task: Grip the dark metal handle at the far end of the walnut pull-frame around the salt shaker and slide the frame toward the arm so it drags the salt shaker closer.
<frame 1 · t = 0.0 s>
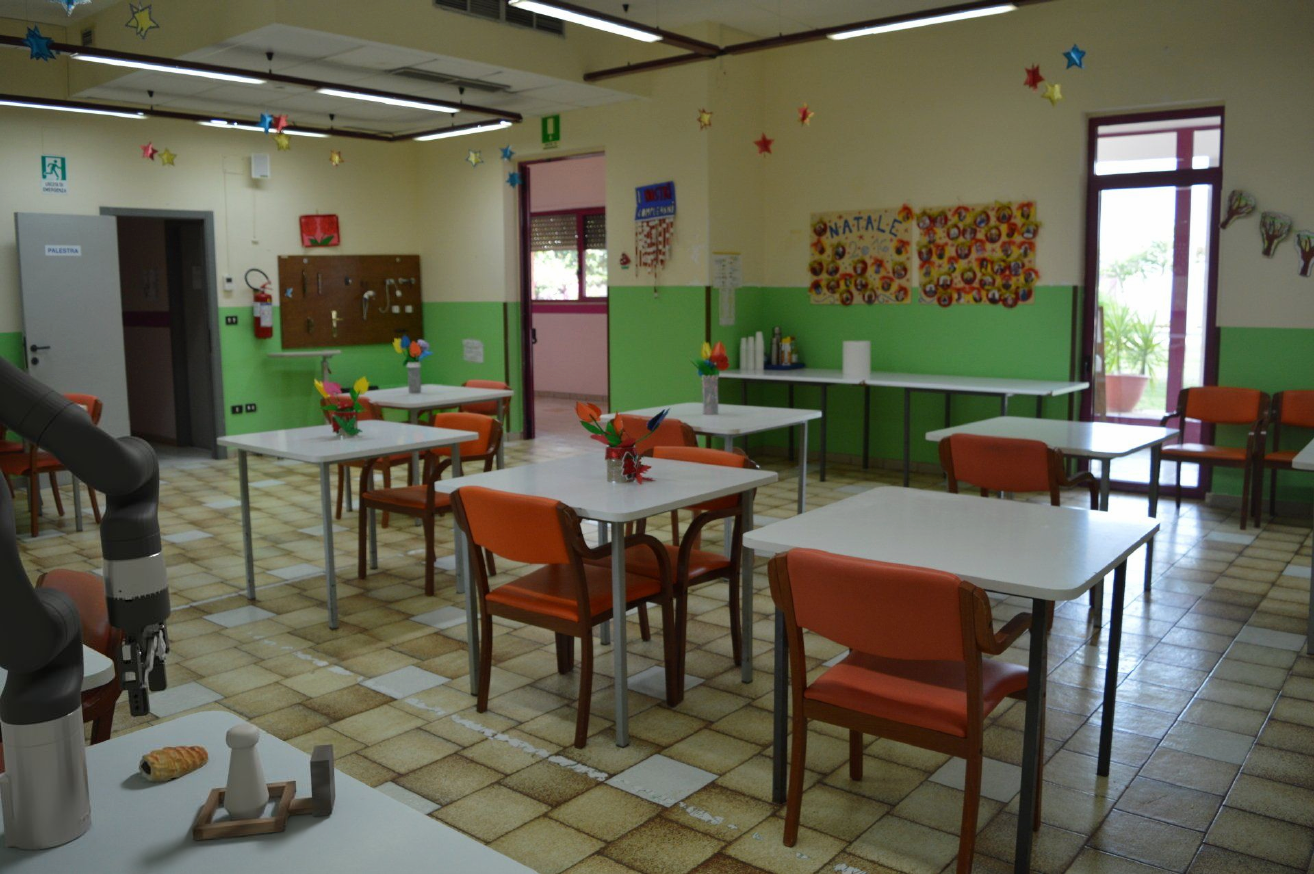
hand: (149, 702, 136), 17 cm above the table, tool pointing down, fingers open, 8 cm apart
salt shaker: (247, 817, 139), on the table
pastry: (171, 773, 153), on the table
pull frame: (267, 784, 139), point 4 cm above the table, slide at 0.0 cm
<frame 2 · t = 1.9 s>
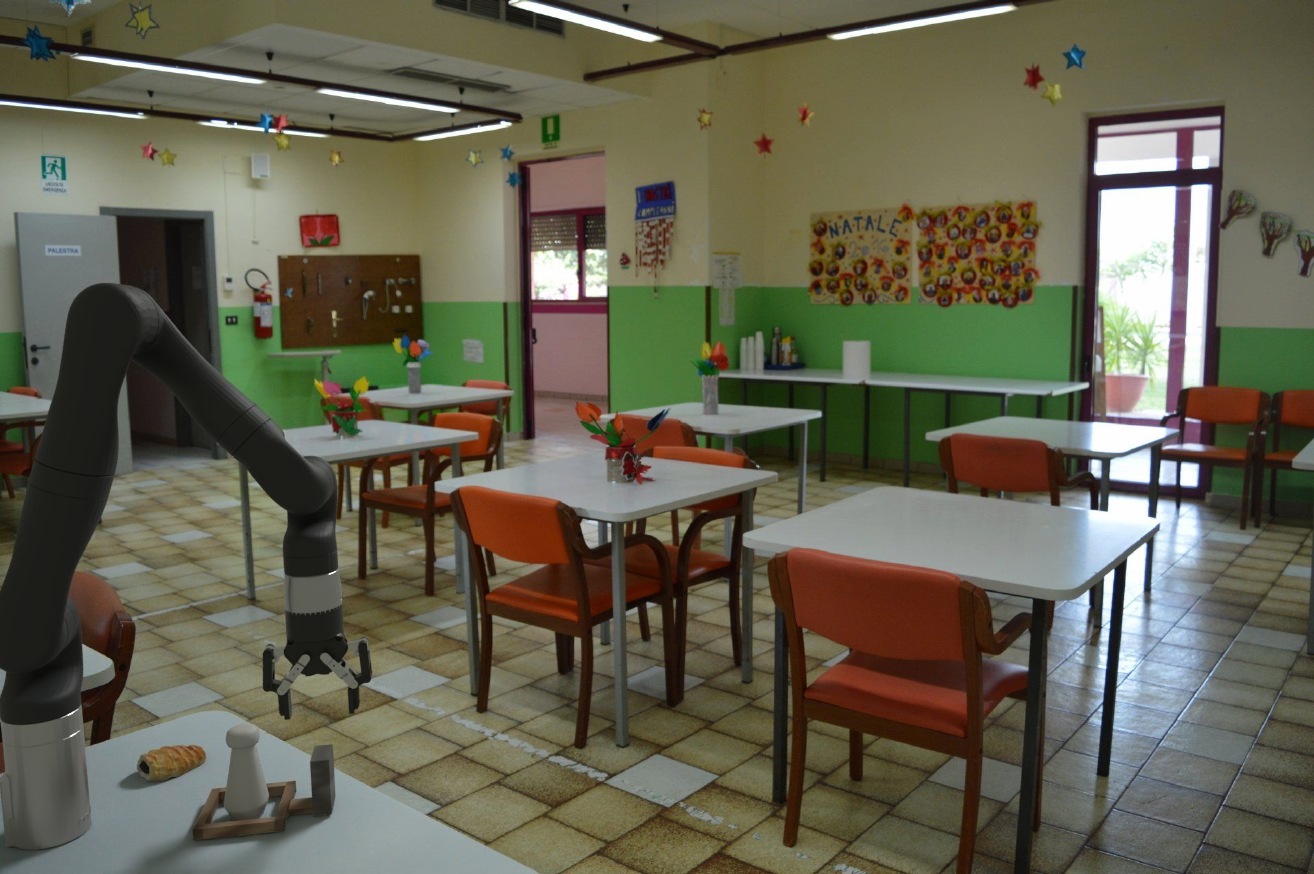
hand: (320, 714, 140), 14 cm above the table, tool pointing down, fingers open, 8 cm apart
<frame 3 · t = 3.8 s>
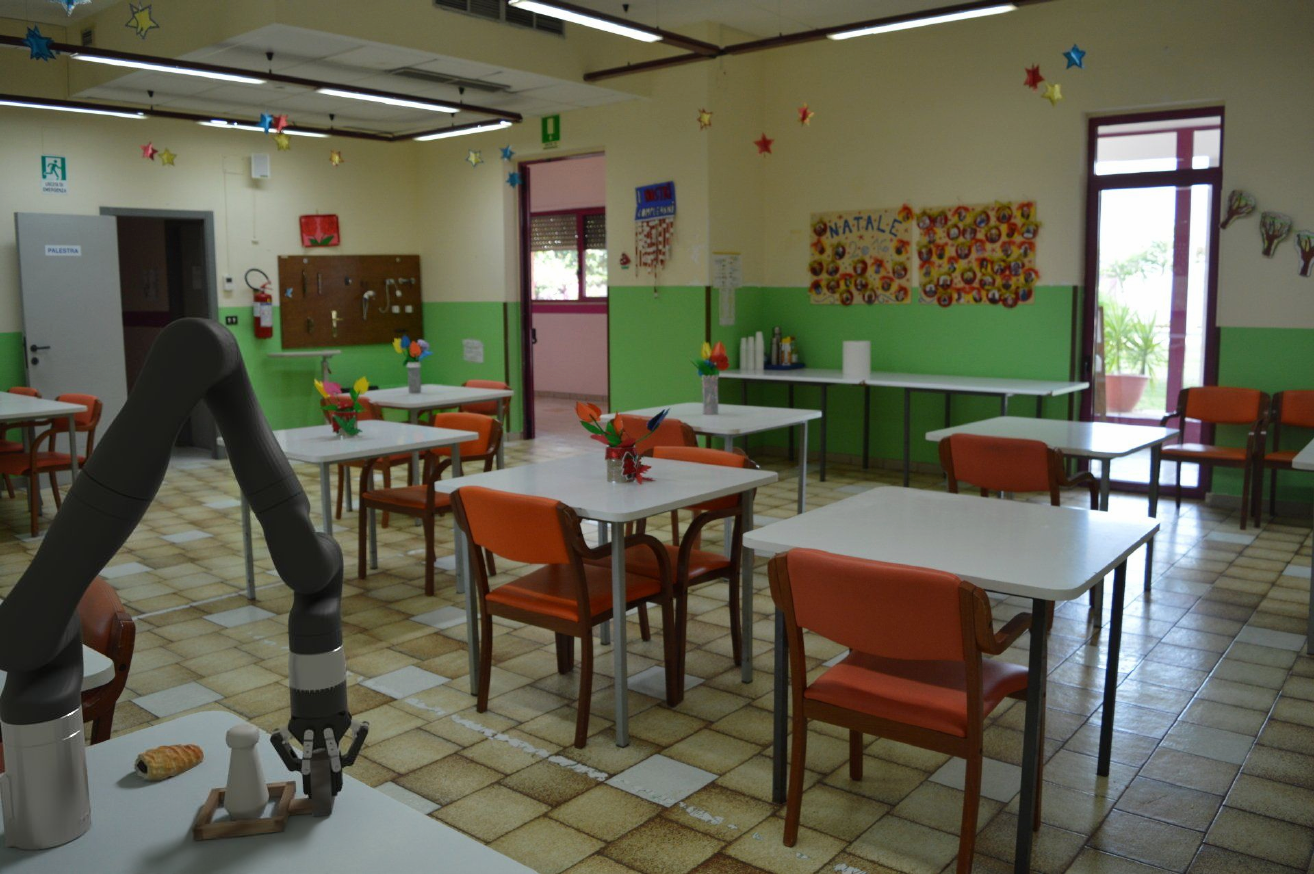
hand: (323, 794, 141), 2 cm above the table, tool pointing down, fingers closed on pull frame, 2 cm apart
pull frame: (267, 784, 139), point 4 cm above the table, slide at 0.0 cm, touching gripper
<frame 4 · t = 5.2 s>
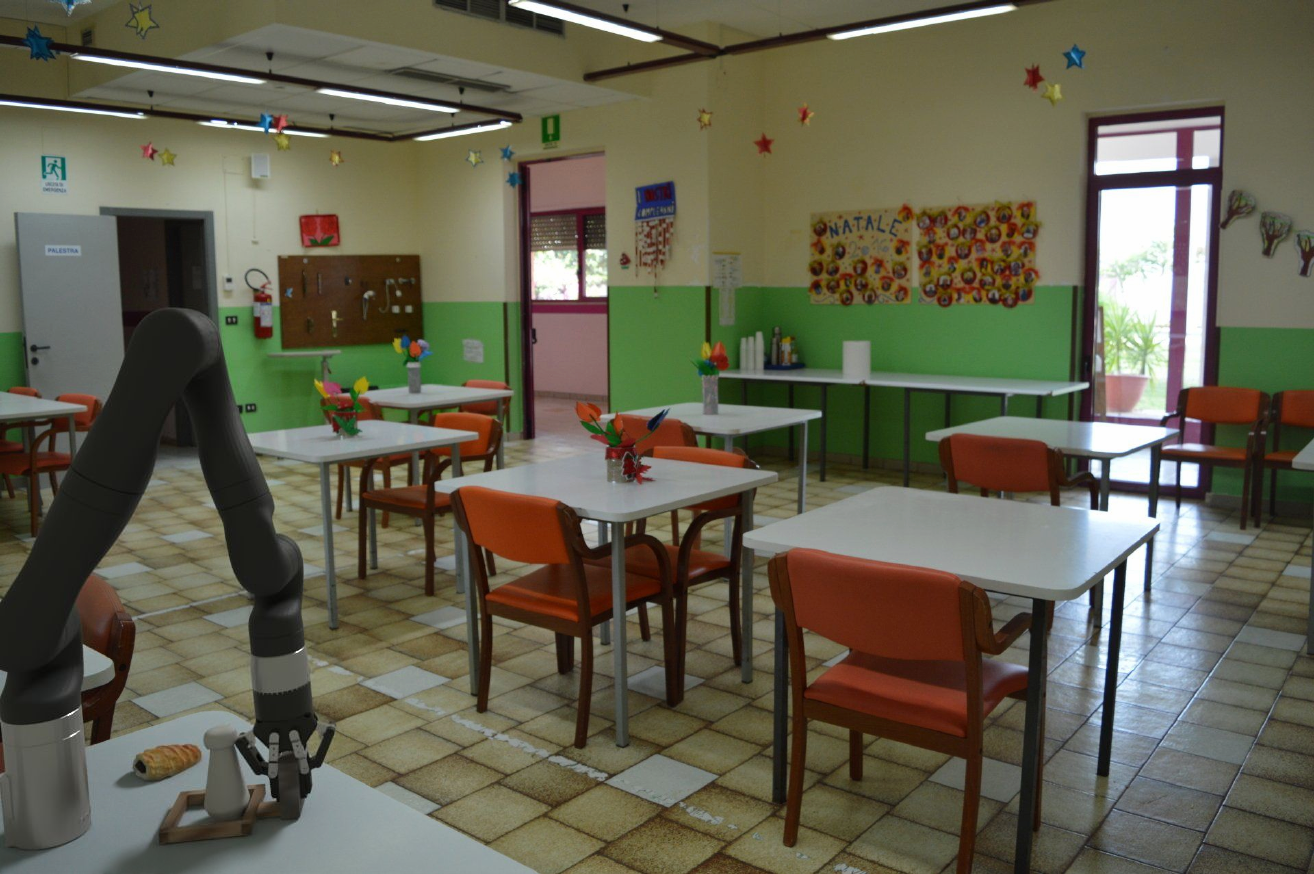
hand: (292, 797, 140), 2 cm above the table, tool pointing down, fingers closed on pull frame, 2 cm apart
salt shaker: (228, 818, 139), on the table, touching hand, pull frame
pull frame: (235, 788, 138), point 4 cm above the table, slide at 4.2 cm, touching gripper, salt shaker
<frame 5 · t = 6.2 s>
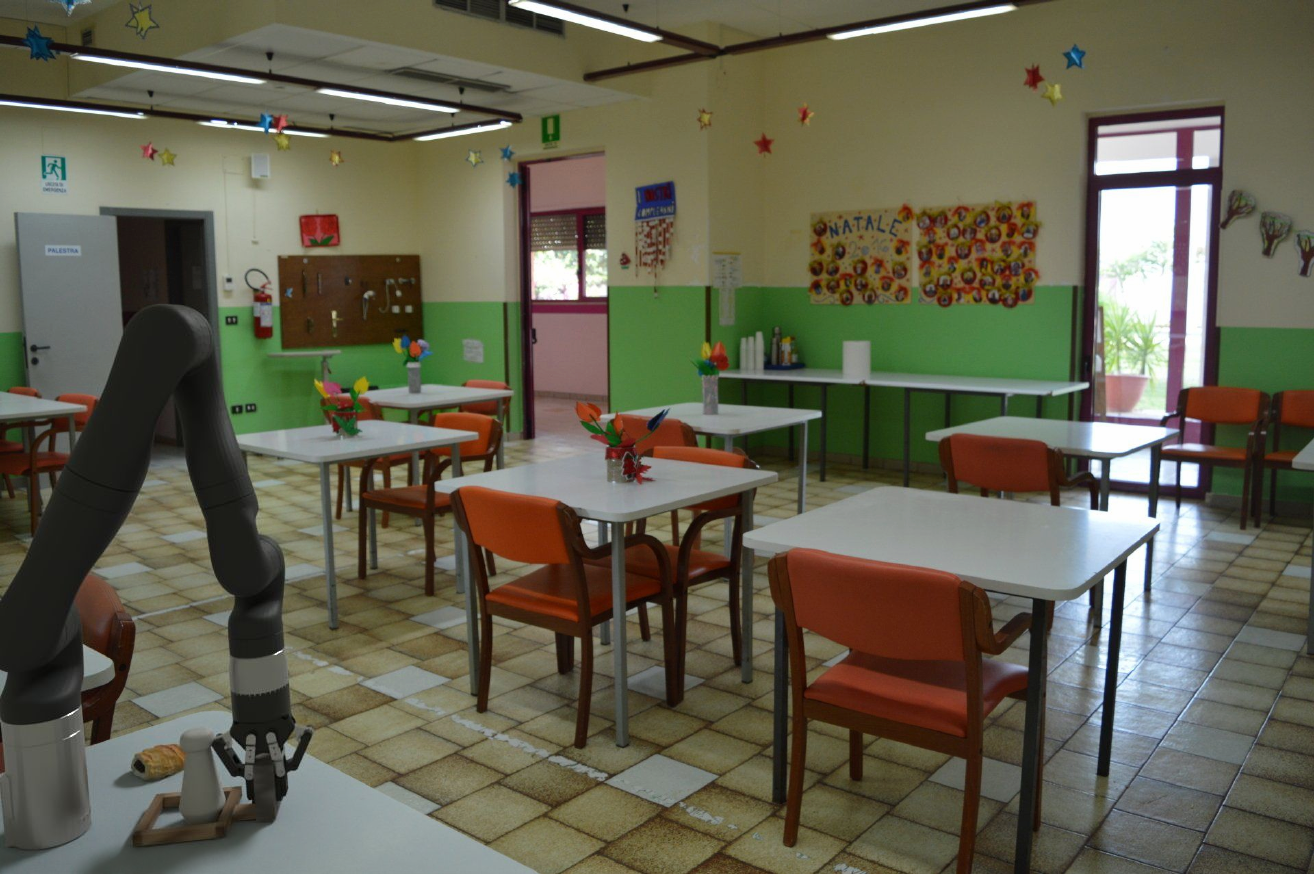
hand: (268, 799, 140), 2 cm above the table, tool pointing down, fingers closed on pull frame, 2 cm apart
salt shaker: (204, 821, 138), on the table, touching hand, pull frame
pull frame: (210, 790, 138), point 4 cm above the table, slide at 7.4 cm, touching gripper, salt shaker
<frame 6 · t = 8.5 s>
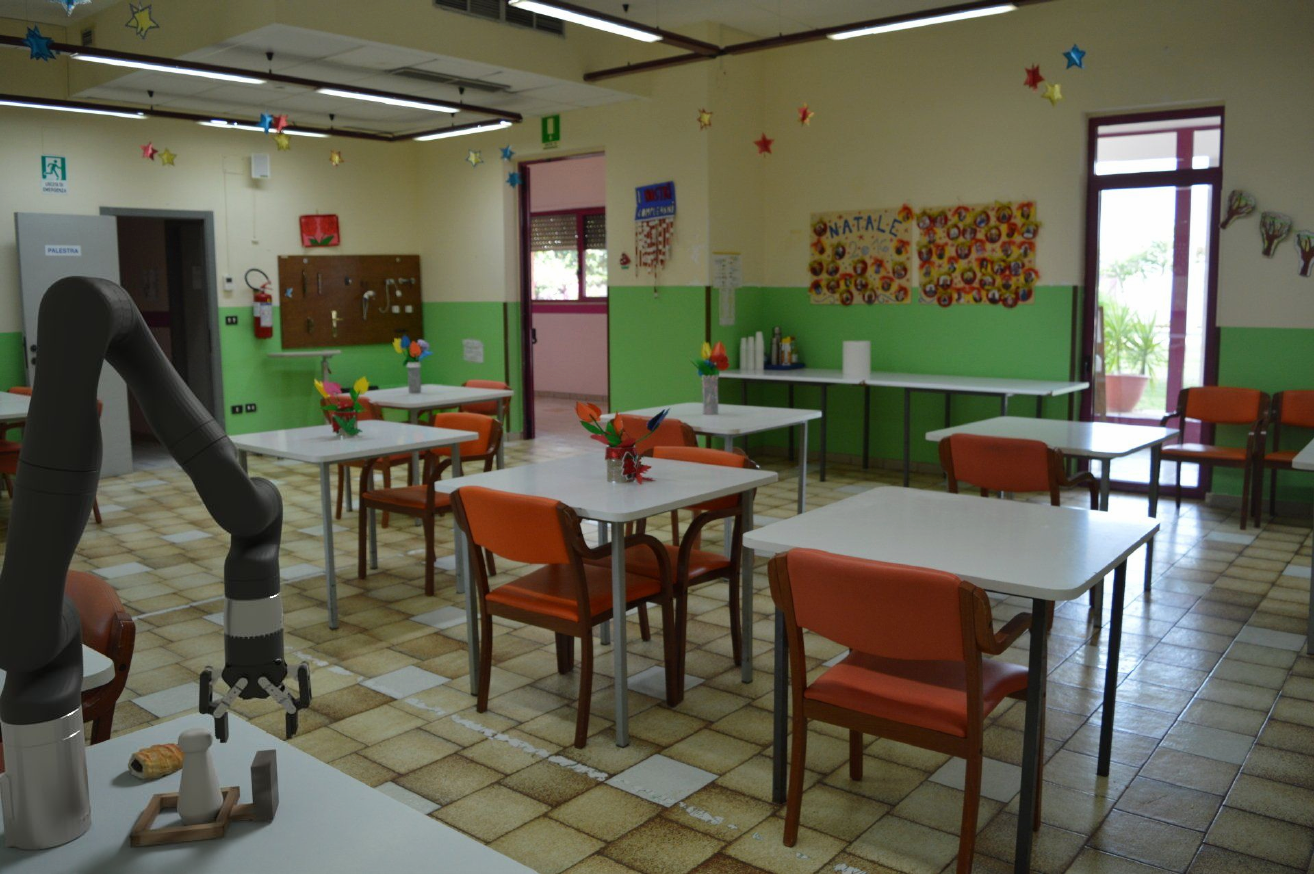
hand: (257, 738, 138), 11 cm above the table, tool pointing down, fingers open, 8 cm apart
salt shaker: (201, 821, 138), on the table
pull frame: (208, 790, 138), point 4 cm above the table, slide at 7.7 cm
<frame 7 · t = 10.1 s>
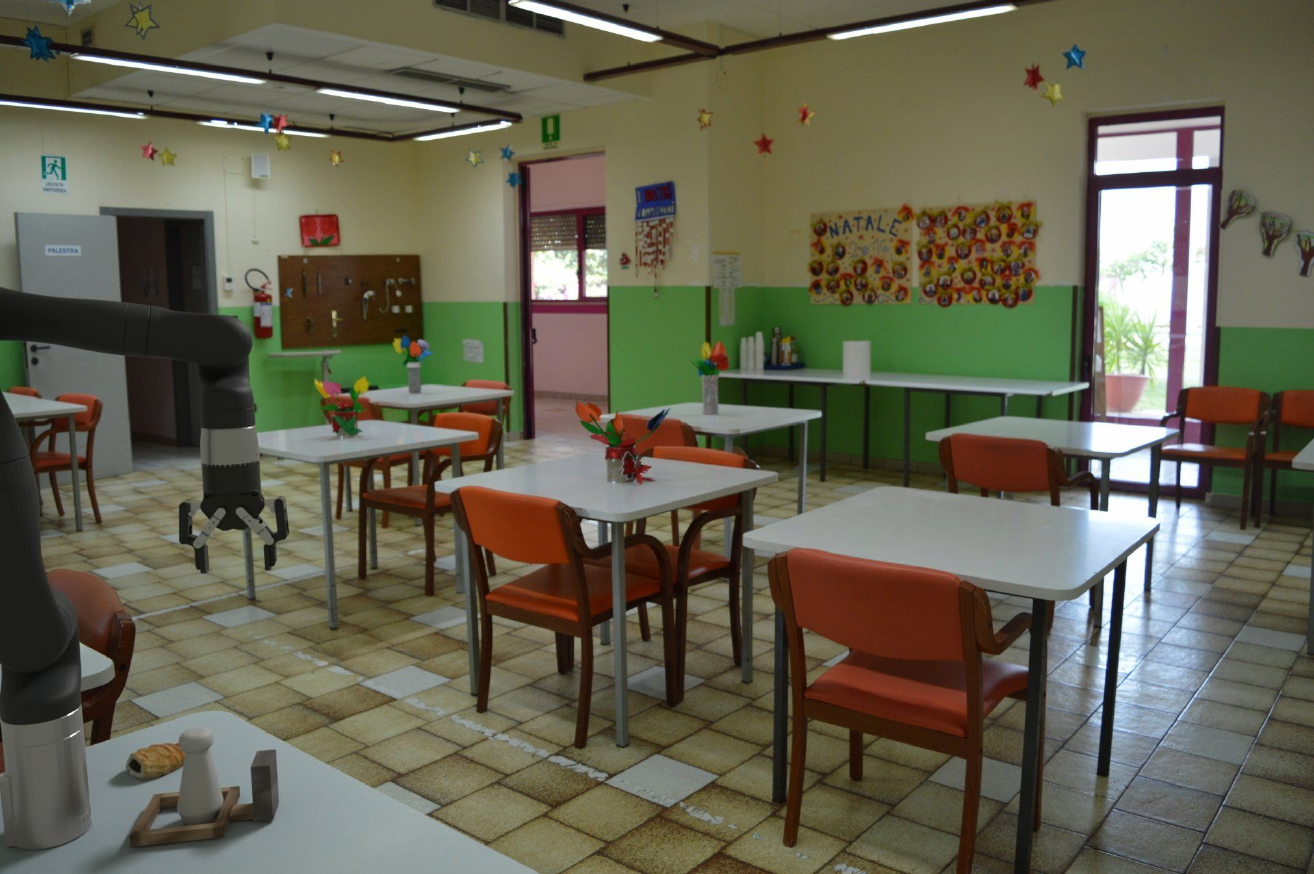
hand: (237, 570, 142), 33 cm above the table, tool pointing down, fingers open, 8 cm apart
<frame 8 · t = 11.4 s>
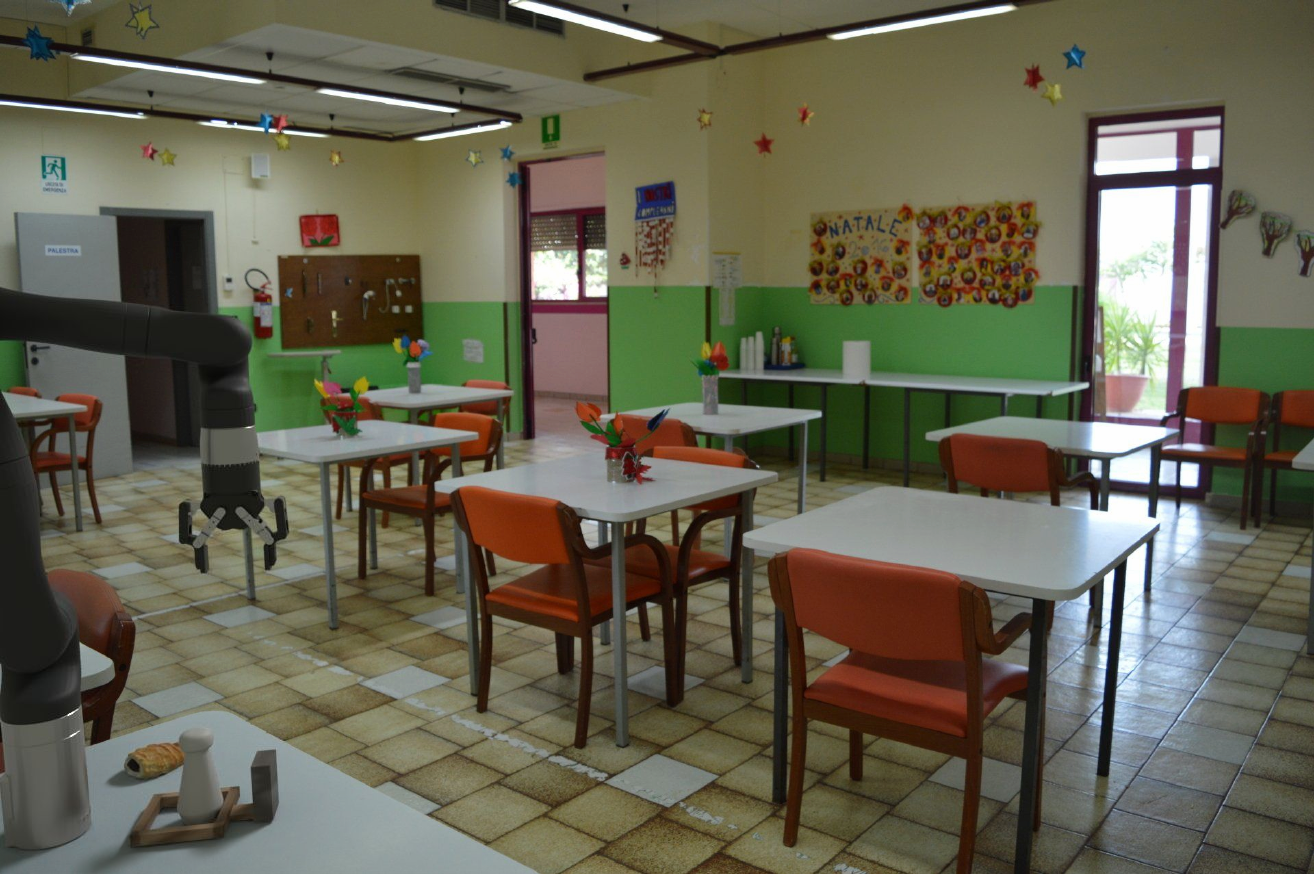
hand: (237, 570, 142), 33 cm above the table, tool pointing down, fingers open, 8 cm apart
at the end: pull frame slide at 7.7 cm; salt shaker inside the target area (1.0 cm from its centre), on the table; salt shaker tilted 0° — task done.
